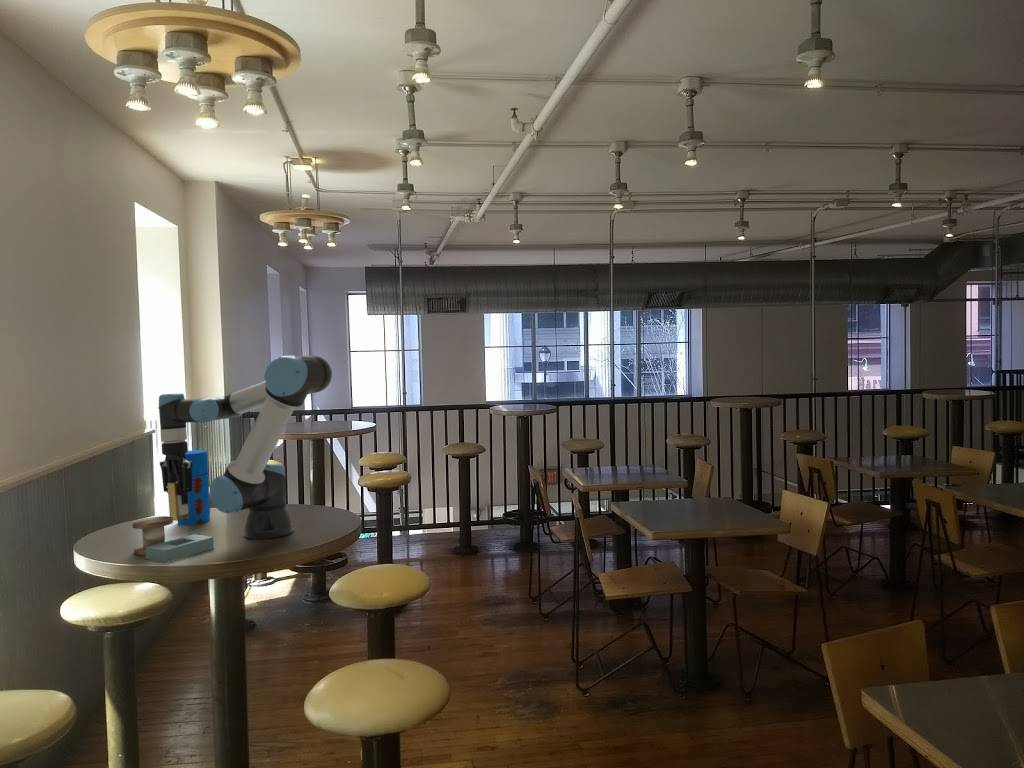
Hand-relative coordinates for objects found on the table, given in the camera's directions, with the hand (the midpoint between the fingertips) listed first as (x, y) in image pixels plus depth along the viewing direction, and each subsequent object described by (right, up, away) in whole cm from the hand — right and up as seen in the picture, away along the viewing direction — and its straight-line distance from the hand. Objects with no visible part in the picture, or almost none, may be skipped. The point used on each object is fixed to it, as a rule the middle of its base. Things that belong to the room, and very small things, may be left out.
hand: (179, 513), depth 225 cm
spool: (-2, -9, -12) cm, 15 cm away
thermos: (-7, -8, +26) cm, 28 cm away
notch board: (+8, -9, -17) cm, 21 cm away
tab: (0, -2, 0) cm, 2 cm away
